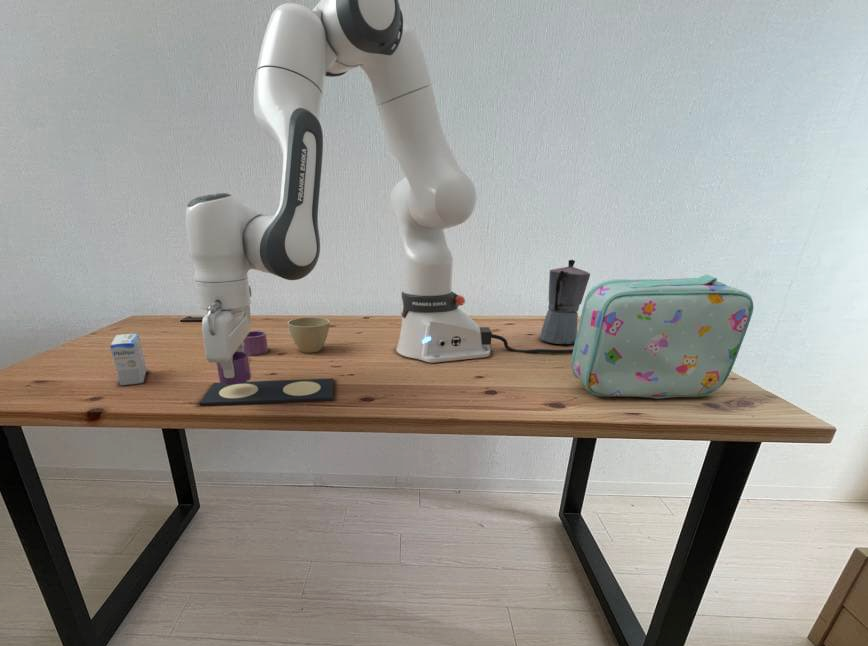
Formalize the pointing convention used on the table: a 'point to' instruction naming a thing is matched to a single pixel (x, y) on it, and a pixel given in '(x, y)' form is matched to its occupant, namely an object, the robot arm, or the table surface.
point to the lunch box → (659, 337)
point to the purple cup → (255, 343)
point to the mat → (269, 392)
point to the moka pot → (564, 304)
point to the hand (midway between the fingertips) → (234, 370)
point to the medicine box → (128, 359)
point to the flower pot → (309, 333)
